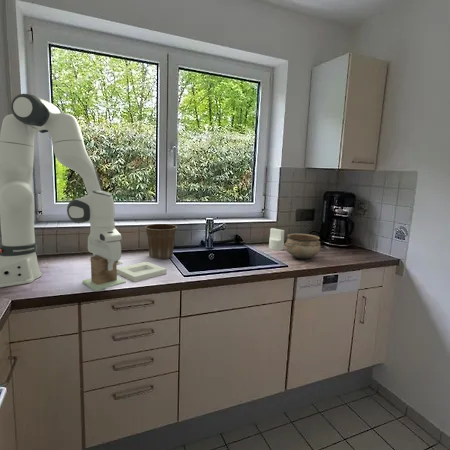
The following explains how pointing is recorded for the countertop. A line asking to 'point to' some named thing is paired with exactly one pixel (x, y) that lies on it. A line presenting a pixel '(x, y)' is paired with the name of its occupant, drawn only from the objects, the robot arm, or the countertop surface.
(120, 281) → the green pad
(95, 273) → the walnut block
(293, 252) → the cooking pot
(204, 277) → the countertop surface
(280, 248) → the base with upright slab
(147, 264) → the pocket plate
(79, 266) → the countertop surface
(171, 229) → the plant pot
